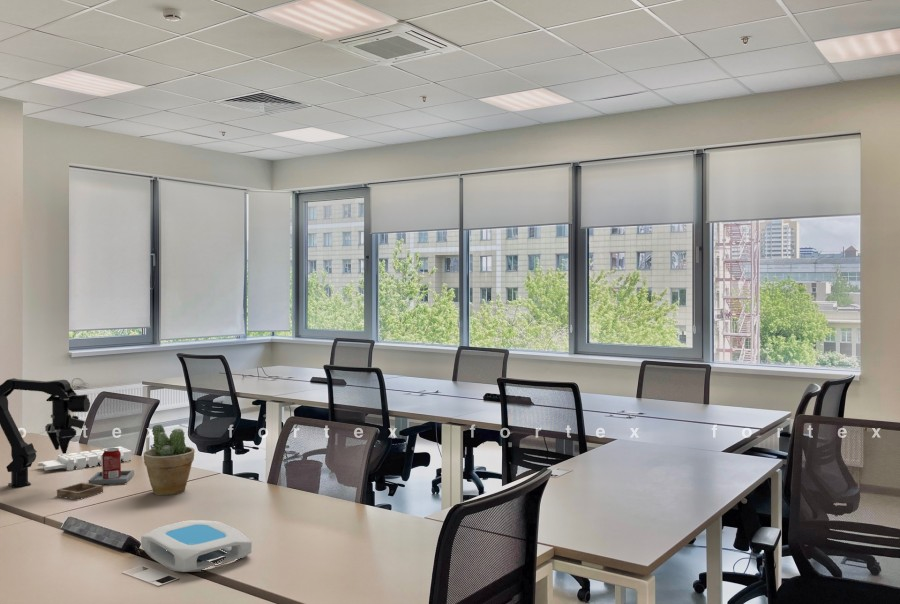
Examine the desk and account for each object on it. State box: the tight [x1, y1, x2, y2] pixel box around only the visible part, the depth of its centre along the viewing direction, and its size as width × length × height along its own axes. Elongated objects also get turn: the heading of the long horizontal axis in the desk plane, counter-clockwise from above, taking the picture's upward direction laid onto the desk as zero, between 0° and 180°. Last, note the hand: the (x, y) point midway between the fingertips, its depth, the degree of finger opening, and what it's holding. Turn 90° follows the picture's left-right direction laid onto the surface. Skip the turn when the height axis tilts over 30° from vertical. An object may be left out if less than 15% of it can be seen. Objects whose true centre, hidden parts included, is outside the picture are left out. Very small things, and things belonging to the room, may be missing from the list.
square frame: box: [56, 482, 104, 500], centre depth 275 cm, size 11×11×2 cm
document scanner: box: [140, 519, 253, 573], centre depth 214 cm, size 21×28×6 cm
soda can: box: [101, 447, 122, 479], centre depth 296 cm, size 7×7×12 cm
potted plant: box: [143, 424, 195, 496], centre depth 280 cm, size 18×19×25 cm
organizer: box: [37, 445, 133, 471], centre depth 322 cm, size 13×5×35 cm
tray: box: [87, 469, 135, 486], centre depth 296 cm, size 14×14×2 cm
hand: (60, 451), depth 289 cm, fingers open, 9 cm apart
